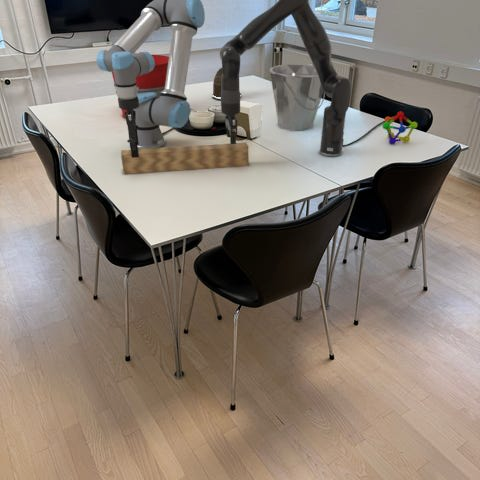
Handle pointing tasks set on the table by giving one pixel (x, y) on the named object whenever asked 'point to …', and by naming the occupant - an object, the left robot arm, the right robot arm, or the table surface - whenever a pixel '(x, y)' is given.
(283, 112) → the bucket
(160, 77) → the bucket
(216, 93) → the bell
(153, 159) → the beam
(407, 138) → the educational toy
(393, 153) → the table surface
